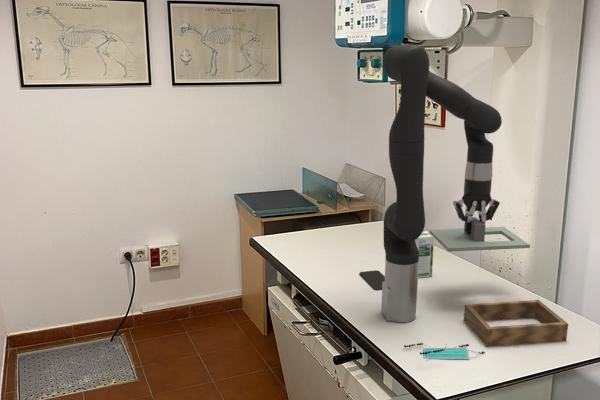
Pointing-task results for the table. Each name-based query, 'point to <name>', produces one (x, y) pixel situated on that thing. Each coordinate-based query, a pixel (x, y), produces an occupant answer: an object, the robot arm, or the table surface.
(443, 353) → the surgical mask
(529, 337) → the wooden frame
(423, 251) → the syrup box
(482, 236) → the lid
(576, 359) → the table surface
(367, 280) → the phone
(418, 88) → the robot arm
